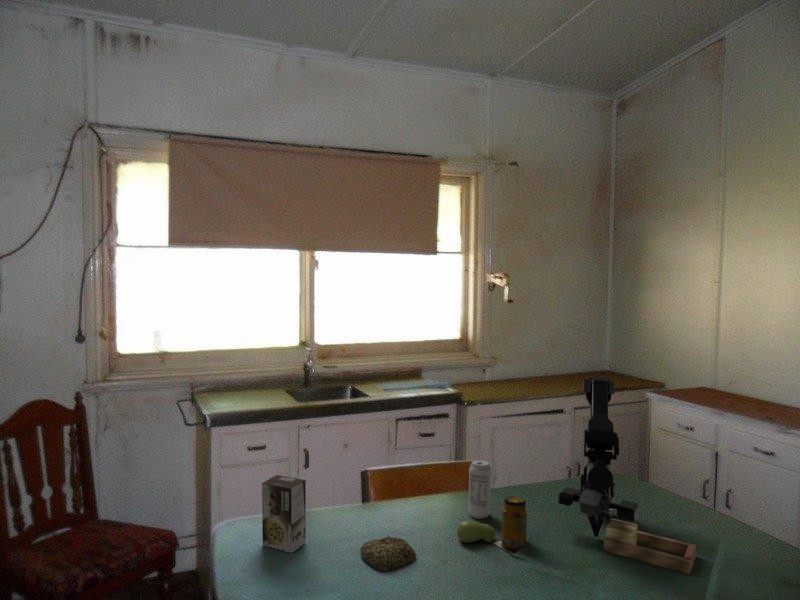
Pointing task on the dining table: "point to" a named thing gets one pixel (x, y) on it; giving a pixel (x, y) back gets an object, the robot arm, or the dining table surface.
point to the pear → (475, 531)
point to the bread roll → (387, 553)
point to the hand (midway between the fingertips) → (596, 536)
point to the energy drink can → (479, 489)
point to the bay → (655, 556)
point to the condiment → (513, 524)
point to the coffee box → (284, 513)
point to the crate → (622, 531)
